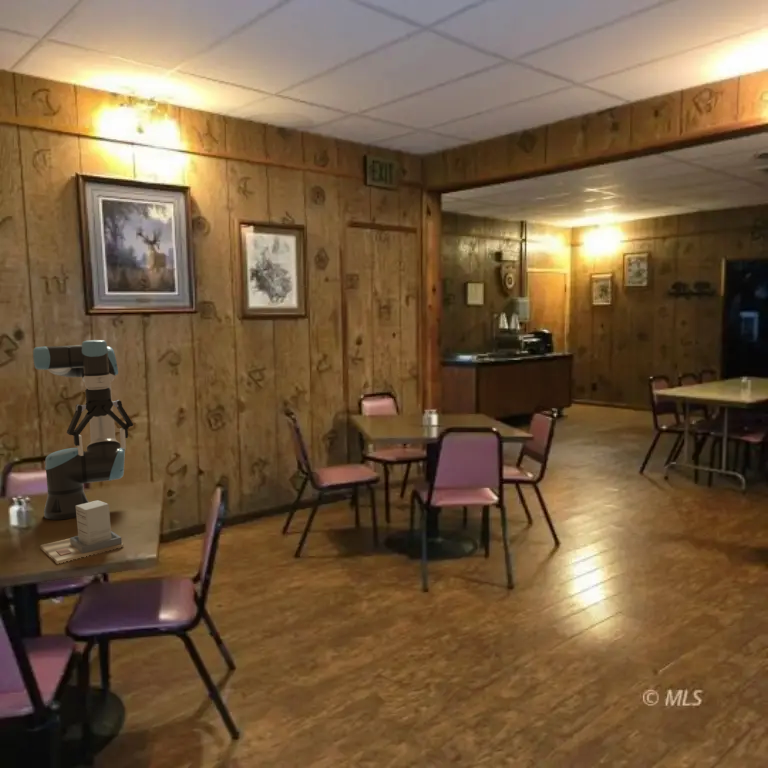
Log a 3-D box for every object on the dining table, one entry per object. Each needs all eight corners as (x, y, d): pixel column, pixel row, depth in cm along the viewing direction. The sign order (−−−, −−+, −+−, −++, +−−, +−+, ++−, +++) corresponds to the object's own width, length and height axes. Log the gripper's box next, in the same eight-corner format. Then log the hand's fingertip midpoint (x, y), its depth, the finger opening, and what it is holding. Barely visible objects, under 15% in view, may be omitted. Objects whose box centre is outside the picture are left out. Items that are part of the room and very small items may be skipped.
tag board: (40, 548, 202) (40, 544, 201) (103, 533, 214) (103, 529, 214) (57, 564, 188) (57, 559, 188) (123, 547, 201) (123, 543, 201)
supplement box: (101, 538, 207) (98, 499, 205) (112, 543, 202) (109, 503, 200) (78, 544, 201) (74, 505, 200) (88, 550, 196) (85, 509, 195)
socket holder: (70, 543, 202) (69, 537, 202) (108, 534, 210) (108, 528, 209) (82, 553, 193) (81, 547, 193) (121, 543, 201) (121, 537, 201)
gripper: (59, 393, 200) (65, 460, 203) (140, 385, 216) (144, 447, 219) (52, 390, 205) (58, 456, 208) (132, 382, 222) (136, 443, 225)
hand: (102, 451), depth 214 cm, fingers open, 13 cm apart
